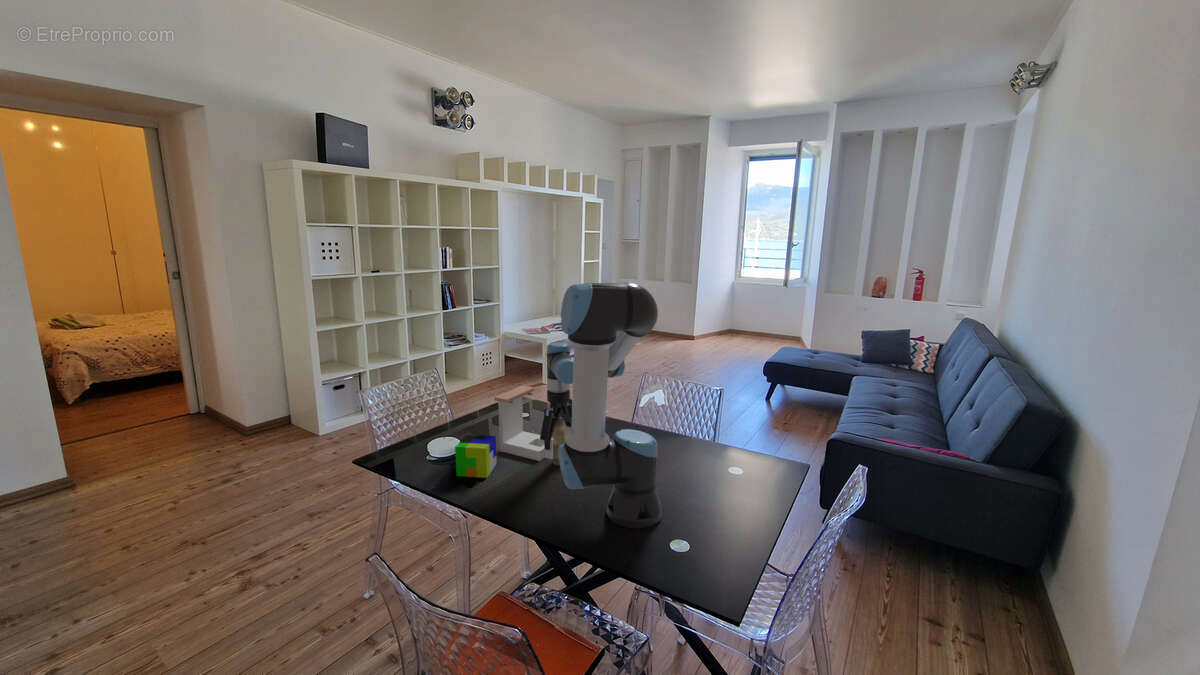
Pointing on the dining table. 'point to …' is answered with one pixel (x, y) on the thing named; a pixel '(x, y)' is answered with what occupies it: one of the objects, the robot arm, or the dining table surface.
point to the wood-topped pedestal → (511, 412)
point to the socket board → (525, 446)
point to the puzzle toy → (475, 456)
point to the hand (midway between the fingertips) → (558, 451)
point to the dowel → (558, 439)
